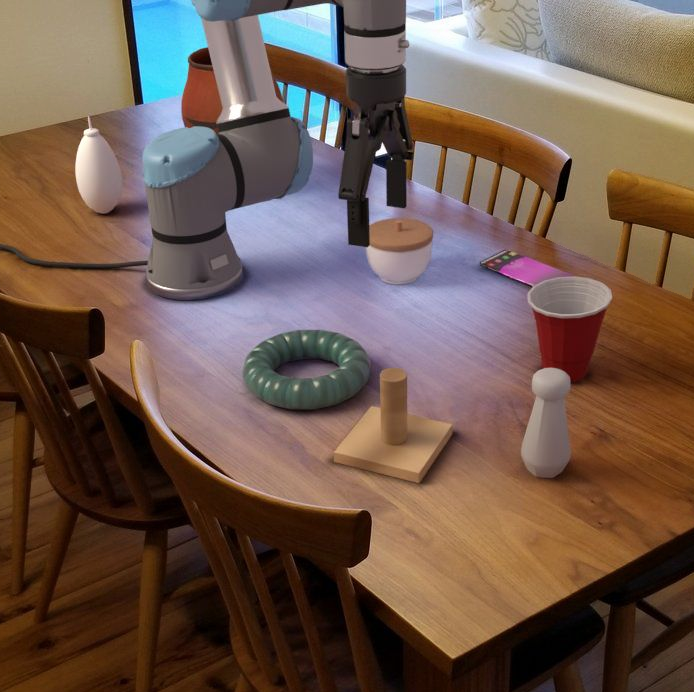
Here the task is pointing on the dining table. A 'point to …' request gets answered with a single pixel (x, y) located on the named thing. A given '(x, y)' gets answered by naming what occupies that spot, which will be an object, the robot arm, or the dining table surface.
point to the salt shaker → (547, 425)
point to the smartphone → (522, 268)
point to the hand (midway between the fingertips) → (378, 225)
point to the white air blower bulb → (97, 172)
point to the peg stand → (393, 435)
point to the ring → (306, 389)
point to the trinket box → (399, 249)
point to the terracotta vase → (204, 92)
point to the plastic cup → (568, 321)
